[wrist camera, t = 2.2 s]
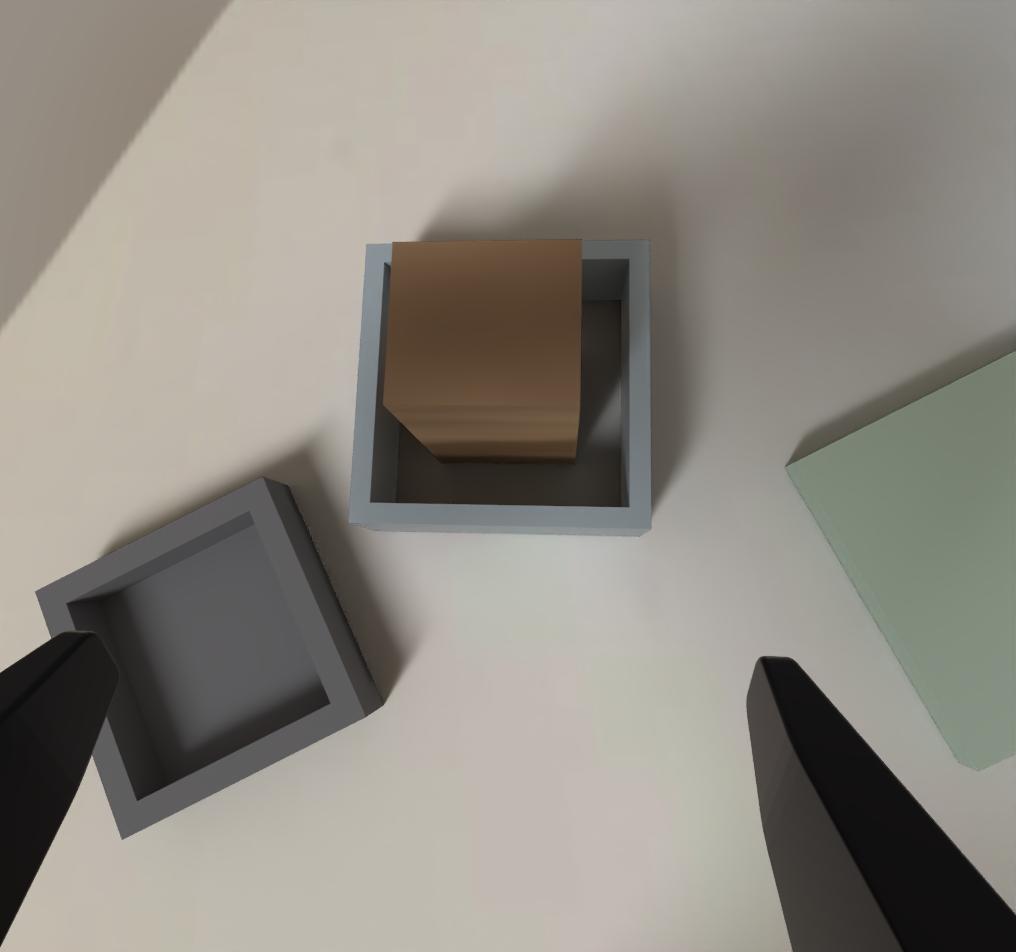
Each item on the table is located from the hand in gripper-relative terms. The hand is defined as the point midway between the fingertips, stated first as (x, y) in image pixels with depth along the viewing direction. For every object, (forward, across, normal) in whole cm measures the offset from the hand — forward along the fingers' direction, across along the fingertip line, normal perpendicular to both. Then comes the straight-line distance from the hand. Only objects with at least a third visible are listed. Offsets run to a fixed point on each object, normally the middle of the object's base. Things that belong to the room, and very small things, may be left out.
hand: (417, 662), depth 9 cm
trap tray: (+8, +9, +10) cm, 16 cm away
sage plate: (+11, -16, +7) cm, 21 cm away
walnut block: (+14, 0, +4) cm, 15 cm away
